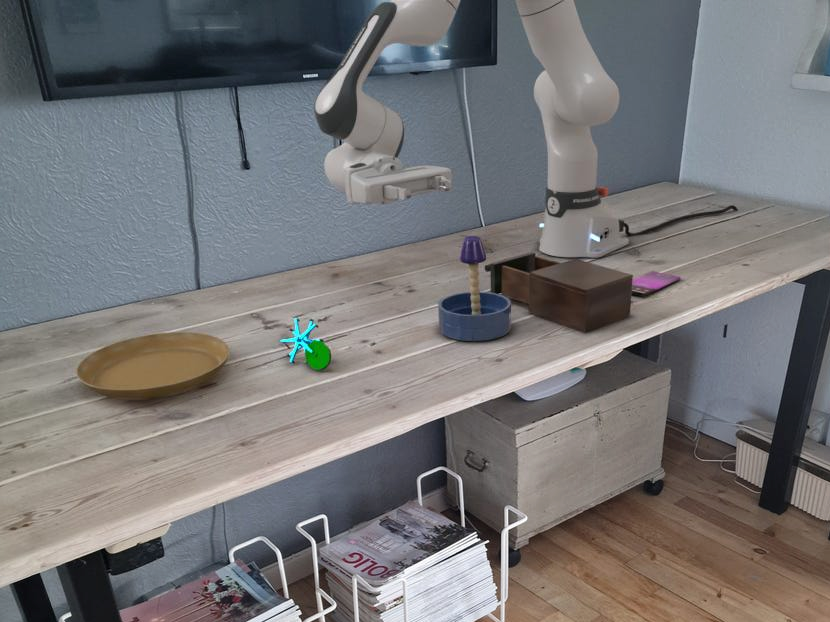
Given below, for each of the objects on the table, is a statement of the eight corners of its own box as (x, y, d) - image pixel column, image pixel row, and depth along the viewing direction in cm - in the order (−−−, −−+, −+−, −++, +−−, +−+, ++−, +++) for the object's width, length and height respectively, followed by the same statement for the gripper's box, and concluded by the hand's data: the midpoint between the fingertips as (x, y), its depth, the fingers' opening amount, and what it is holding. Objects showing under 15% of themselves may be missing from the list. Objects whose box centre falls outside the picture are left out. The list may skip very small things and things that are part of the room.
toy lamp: (467, 333, 159) (465, 242, 151) (458, 325, 163) (455, 235, 155) (492, 329, 161) (491, 238, 152) (481, 321, 165) (480, 232, 156)
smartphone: (613, 291, 179) (613, 286, 179) (651, 273, 189) (651, 269, 189) (644, 298, 175) (644, 293, 175) (681, 279, 185) (681, 275, 185)
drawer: (476, 289, 179) (476, 258, 176) (516, 277, 186) (517, 247, 183) (537, 310, 168) (538, 278, 165) (578, 296, 174) (579, 265, 171)
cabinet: (528, 313, 169) (529, 272, 165) (573, 298, 176) (575, 258, 172) (584, 333, 160) (586, 289, 156) (629, 316, 167) (633, 274, 163)
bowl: (478, 312, 170) (477, 287, 168) (525, 329, 162) (525, 303, 159) (424, 329, 163) (423, 303, 160) (471, 348, 154) (470, 321, 152)
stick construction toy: (270, 345, 151) (294, 307, 149) (297, 355, 157) (320, 319, 155) (310, 382, 145) (335, 343, 144) (337, 391, 151) (361, 354, 150)
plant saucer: (53, 407, 136) (47, 388, 134) (116, 348, 157) (112, 331, 155) (206, 408, 135) (202, 389, 133) (249, 349, 155) (246, 331, 154)
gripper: (426, 187, 175) (472, 199, 166) (340, 204, 163) (384, 217, 154) (425, 154, 172) (471, 164, 163) (337, 169, 160) (381, 180, 151)
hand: (428, 190), depth 158 cm, fingers open, 8 cm apart
